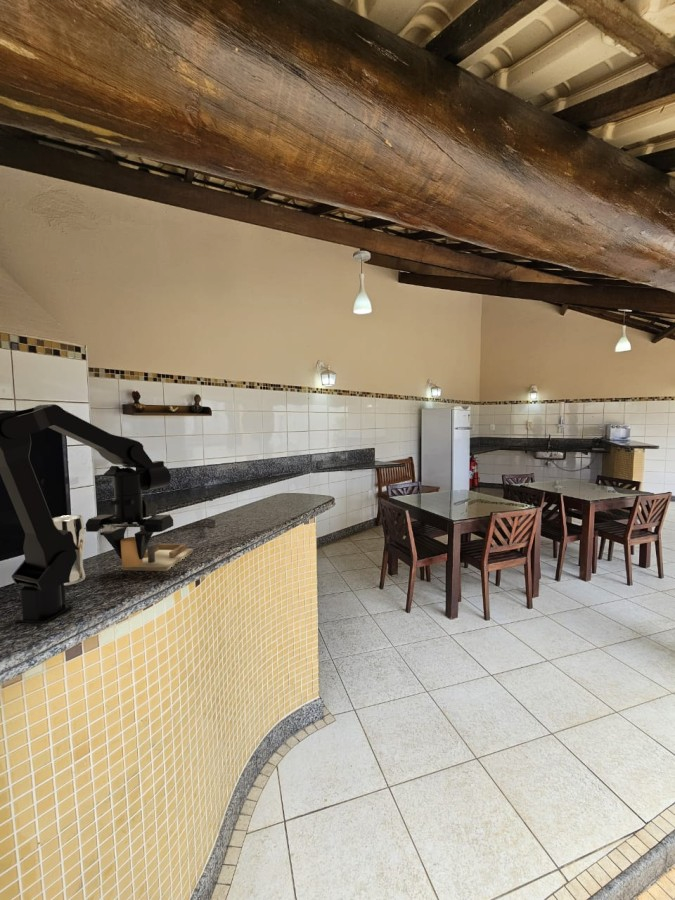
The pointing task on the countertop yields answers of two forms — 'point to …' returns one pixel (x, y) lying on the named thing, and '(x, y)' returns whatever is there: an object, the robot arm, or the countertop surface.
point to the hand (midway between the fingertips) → (132, 558)
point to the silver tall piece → (77, 529)
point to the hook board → (161, 557)
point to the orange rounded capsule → (129, 553)
